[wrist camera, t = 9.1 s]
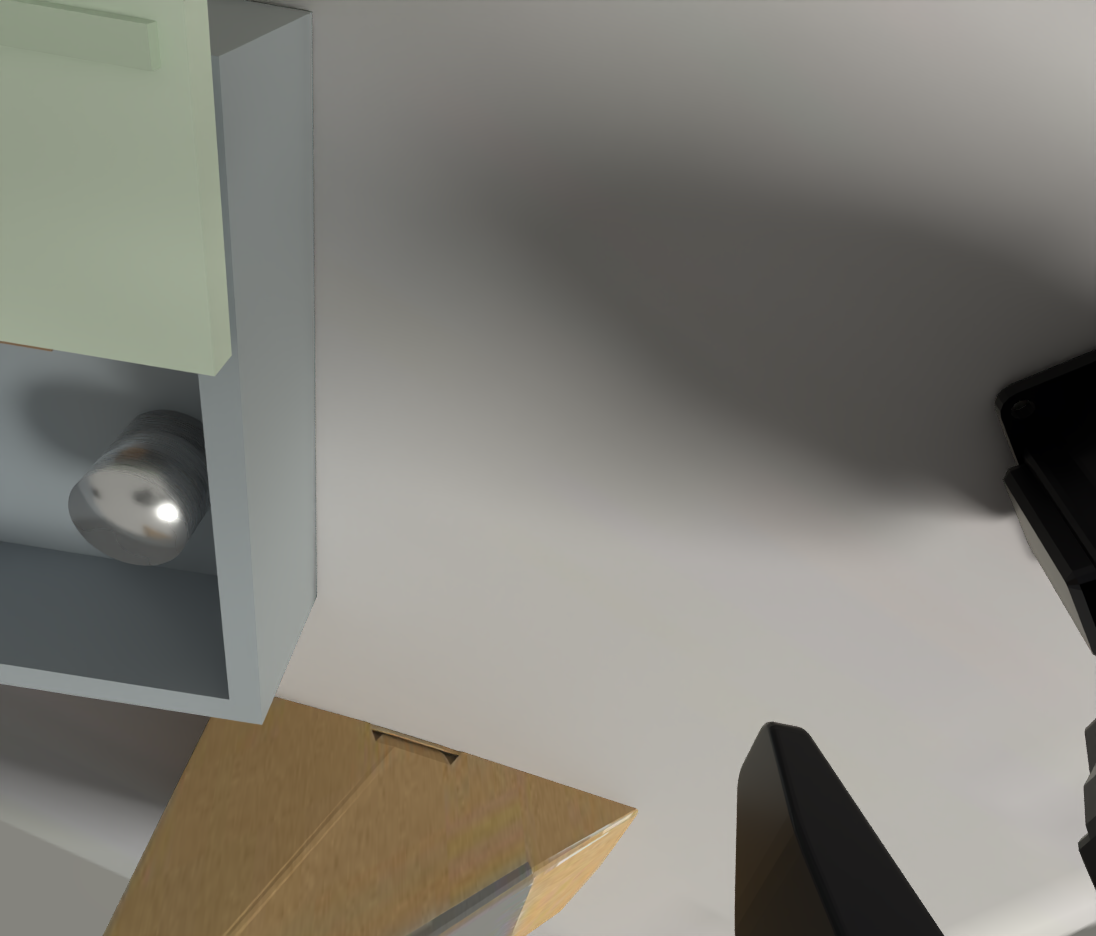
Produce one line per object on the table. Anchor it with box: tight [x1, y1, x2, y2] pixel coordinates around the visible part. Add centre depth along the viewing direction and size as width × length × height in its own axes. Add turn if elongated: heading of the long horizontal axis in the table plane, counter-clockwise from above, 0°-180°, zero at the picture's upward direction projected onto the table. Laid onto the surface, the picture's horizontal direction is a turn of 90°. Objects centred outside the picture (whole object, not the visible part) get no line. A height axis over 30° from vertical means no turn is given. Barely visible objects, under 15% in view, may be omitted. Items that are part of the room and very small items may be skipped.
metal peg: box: [68, 410, 211, 566], centre depth 22 cm, size 3×3×3 cm
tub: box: [0, 0, 317, 725], centre depth 20 cm, size 16×10×5 cm, turn 171°
